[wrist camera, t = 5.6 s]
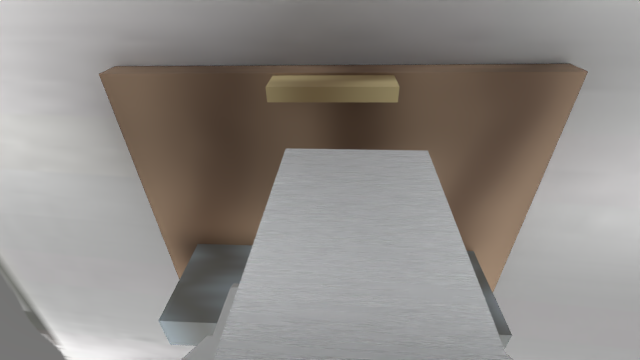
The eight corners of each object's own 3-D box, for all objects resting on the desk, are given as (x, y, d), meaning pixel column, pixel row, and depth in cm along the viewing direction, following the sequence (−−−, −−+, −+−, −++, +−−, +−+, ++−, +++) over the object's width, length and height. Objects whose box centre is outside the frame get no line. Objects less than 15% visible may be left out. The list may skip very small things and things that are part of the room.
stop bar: (427, 150, 9) (517, 384, 4) (397, 317, 14) (422, 523, 9) (286, 148, 9) (212, 362, 4) (302, 312, 14) (274, 507, 9)
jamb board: (570, 63, 14) (706, 124, 9) (457, 347, 26) (486, 442, 21) (114, 66, 15) (-5, 121, 10) (212, 336, 27) (182, 424, 22)
